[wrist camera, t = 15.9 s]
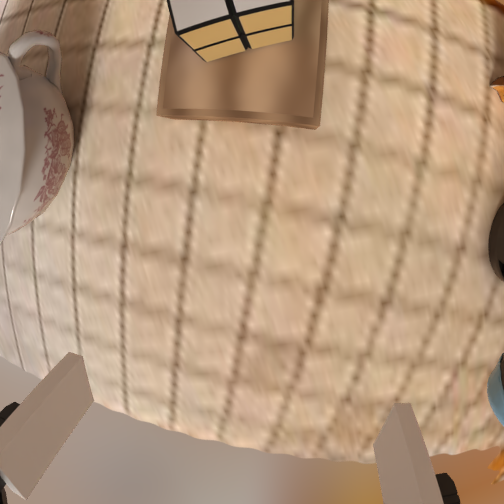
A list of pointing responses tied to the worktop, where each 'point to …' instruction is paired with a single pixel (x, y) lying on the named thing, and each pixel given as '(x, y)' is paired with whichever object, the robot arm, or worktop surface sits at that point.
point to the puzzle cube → (231, 24)
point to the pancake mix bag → (499, 87)
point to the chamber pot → (31, 133)
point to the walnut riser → (251, 77)
